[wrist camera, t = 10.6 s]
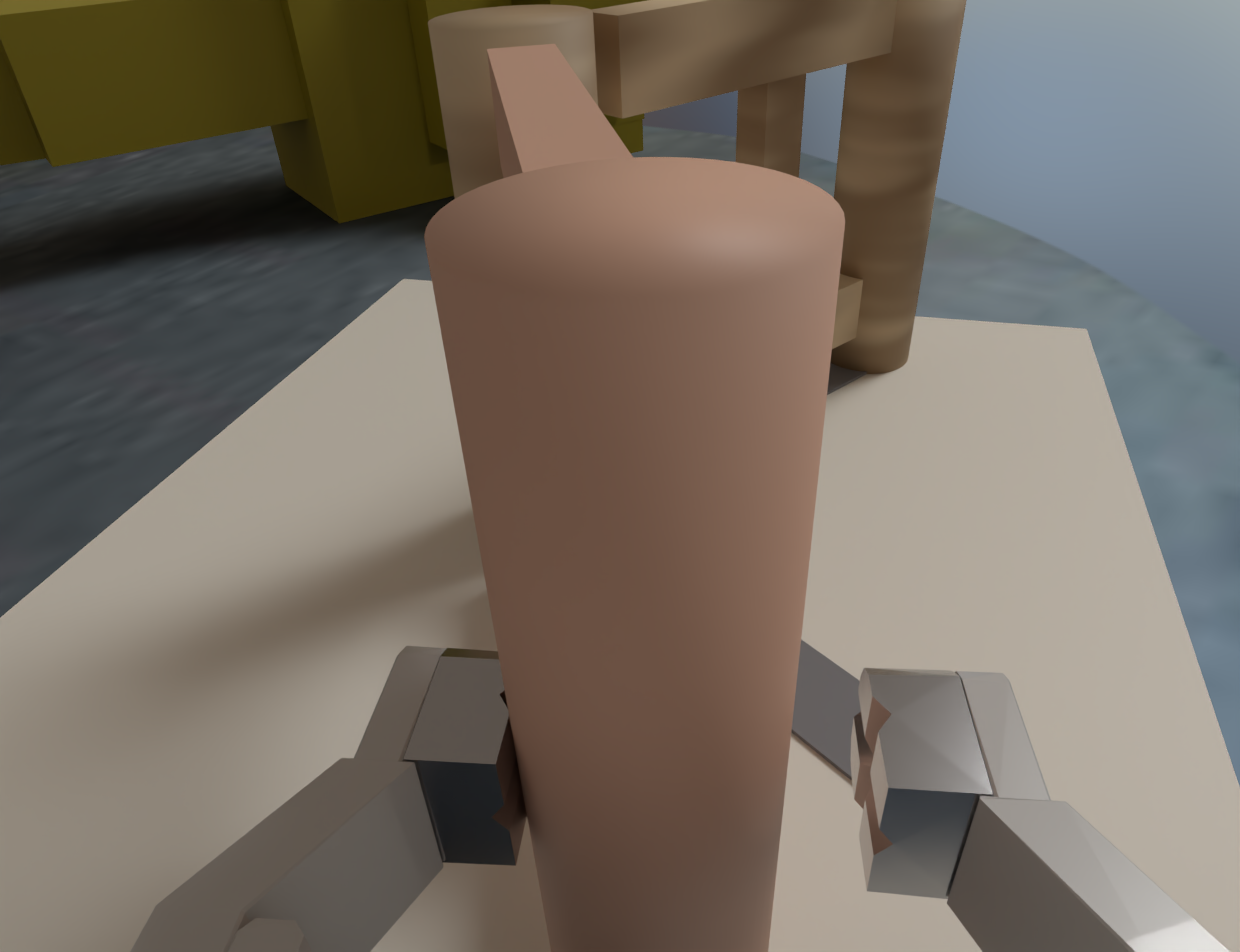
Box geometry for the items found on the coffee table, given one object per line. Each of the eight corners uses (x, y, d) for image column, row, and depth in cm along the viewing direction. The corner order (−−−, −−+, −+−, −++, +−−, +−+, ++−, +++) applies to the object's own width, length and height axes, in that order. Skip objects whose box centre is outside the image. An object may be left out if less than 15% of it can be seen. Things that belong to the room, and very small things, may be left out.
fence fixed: (547, 561, 22) (484, 36, 15) (480, 504, 24) (398, 20, 17) (928, 354, 30) (1000, -51, 23) (853, 325, 32) (899, -55, 25)
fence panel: (511, 558, 22) (429, 21, 15) (629, 540, 22) (603, 8, 15) (576, 1135, 12) (422, 326, 5) (788, 1087, 12) (921, 268, 5)
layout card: (1543, 1788, 8) (1581, 1790, 8) (-418, 1001, 15) (-445, 984, 14) (1082, 341, 31) (1087, 326, 31) (405, 289, 38) (403, 276, 38)
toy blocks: (568, -161, 53) (750, -176, 42) (585, 119, 62) (738, 168, 51) (-131, -132, 37) (-137, -145, 26) (32, 237, 46) (79, 344, 35)
